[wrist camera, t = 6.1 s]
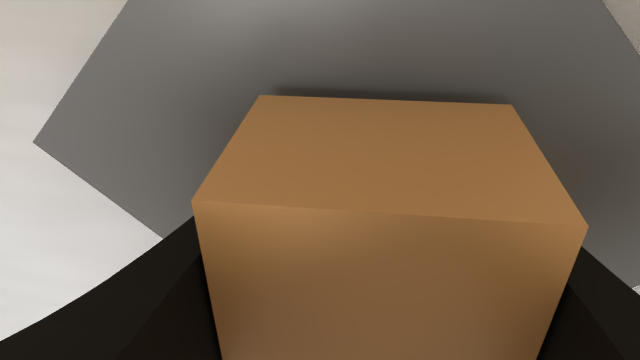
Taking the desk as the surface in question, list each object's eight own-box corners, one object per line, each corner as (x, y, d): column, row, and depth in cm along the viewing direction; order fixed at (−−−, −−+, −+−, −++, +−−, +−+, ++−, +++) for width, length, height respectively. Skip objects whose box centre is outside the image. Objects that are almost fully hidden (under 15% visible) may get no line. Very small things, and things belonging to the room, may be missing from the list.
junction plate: (731, 207, 11) (852, 313, 8) (381, 374, 17) (379, 474, 14) (366, -321, 7) (352, -473, 4) (56, 126, 13) (-44, 194, 10)
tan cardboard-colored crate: (511, 104, 9) (589, 226, 6) (468, 289, 12) (501, 445, 8) (259, 94, 9) (190, 200, 6) (274, 273, 12) (232, 413, 9)
